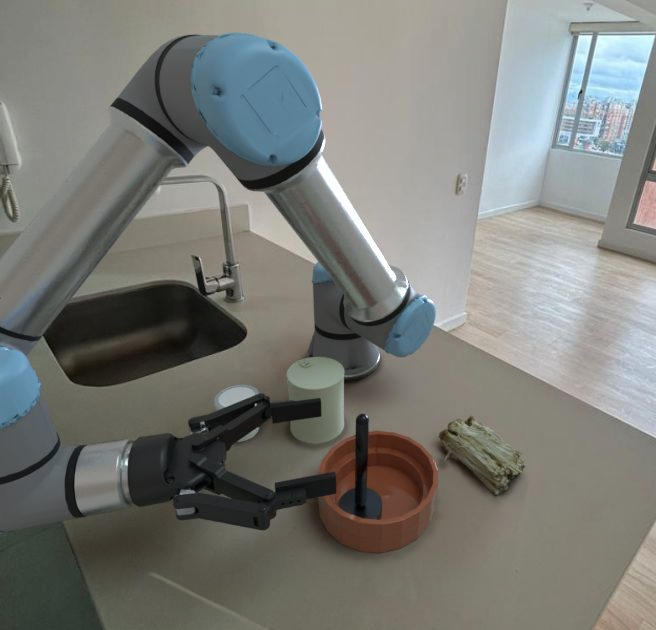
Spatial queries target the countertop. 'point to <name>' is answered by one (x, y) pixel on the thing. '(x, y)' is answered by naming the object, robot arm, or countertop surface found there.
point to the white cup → (236, 400)
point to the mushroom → (482, 453)
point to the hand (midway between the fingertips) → (328, 441)
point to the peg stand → (361, 479)
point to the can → (318, 382)
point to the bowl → (382, 492)
